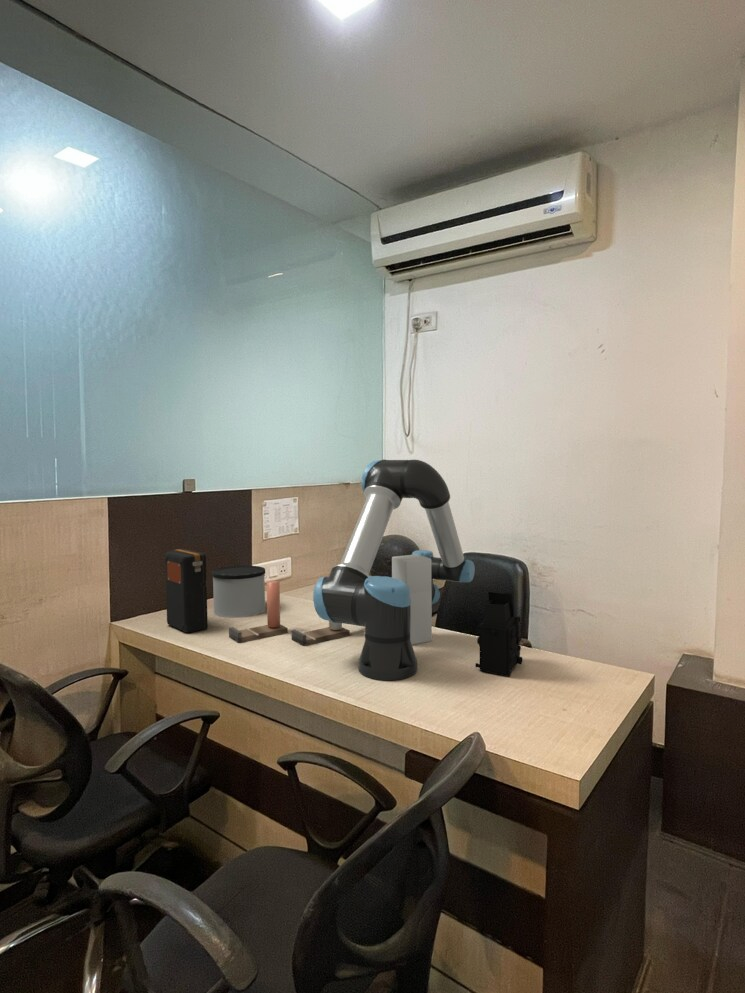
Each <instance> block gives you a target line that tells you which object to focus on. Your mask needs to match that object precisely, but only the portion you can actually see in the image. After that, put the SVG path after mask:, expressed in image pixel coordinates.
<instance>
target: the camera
mask: <svg viewBox="0 0 745 993" xmlns="http://www.w3.org/2000/svg"><path fill="white" fill-rule="evenodd" d="M513 596H514V595H513V593H512V592H506V591H499V590H498V591H497V590H491V589H490V590H488V603H487V602H486V603H485V607H484V615H483V620H482V621H481V622H480V623H479V630H478V631H476V635H477V636H478V637H477V640H476V642H477V645H478V646H479V662H476V663H475V665H474V666H475V668H479V672H484V673H488V674H489V673H490V674H494V675H500V676H504V677H510V676H511V674H512V671H513V670H514V669H515V667H516V666H517V665H522V664H523V662H524V661H523V660H524V658H523V656H521V649H522V648H521V647H522V646H521V645H520V642H521V641H522V637H520V635H521V634H520V629H521V628H520V625H522V621H521V617H520V616H518V615H515V609H514V608H515V607H514V599H513Z"/></svg>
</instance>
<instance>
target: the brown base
mask: <svg viewBox="0 0 745 993" xmlns="http://www.w3.org/2000/svg"><path fill="white" fill-rule="evenodd" d="M288 630H289V629H288V627H286V626H284V625H283V624H281V623H280V626H279V627H268V624H266V625H260V626H256V627H250V628H248V627H245V628H244V629H237V628H236V627H234V626H230V627H228V638H230V639H231V640H232V641H235V643H237V644H239V643H244V642H248V641H253V640H259V639H264V638H269V637H272V636H274V637H275V636H278V635H283V634H288Z"/></svg>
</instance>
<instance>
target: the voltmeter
mask: <svg viewBox="0 0 745 993" xmlns="http://www.w3.org/2000/svg"><path fill="white" fill-rule="evenodd" d="M164 567H165V569H164V572H165V595H166V596H165V598H166V600H165V602H166V605H165V606H166V623H167V625H169V626H171V627H174V628H176V629H178V630H180V631H182V632H185V633H187V634H189V633H194V632H197V631H202V630H204V631H206V630H207V629H208V627H209V626H208V621H209V619H208V591H207V590H208V589H207V555H206V554H205V553H204V552H199V551H194V550H192V549H191V550H190V549H185V548H181V549H180V548H178V549H173V550H172V551H166V552H165V554H164Z"/></svg>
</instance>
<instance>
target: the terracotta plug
mask: <svg viewBox="0 0 745 993" xmlns="http://www.w3.org/2000/svg"><path fill="white" fill-rule="evenodd" d="M280 589H281V588H280V581H279V580H268V581H266V610H267V611H266V616H267V624H266V625H268V627H279V626H280V624H281V596H280V594H281V593H280V591H281V590H280Z"/></svg>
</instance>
